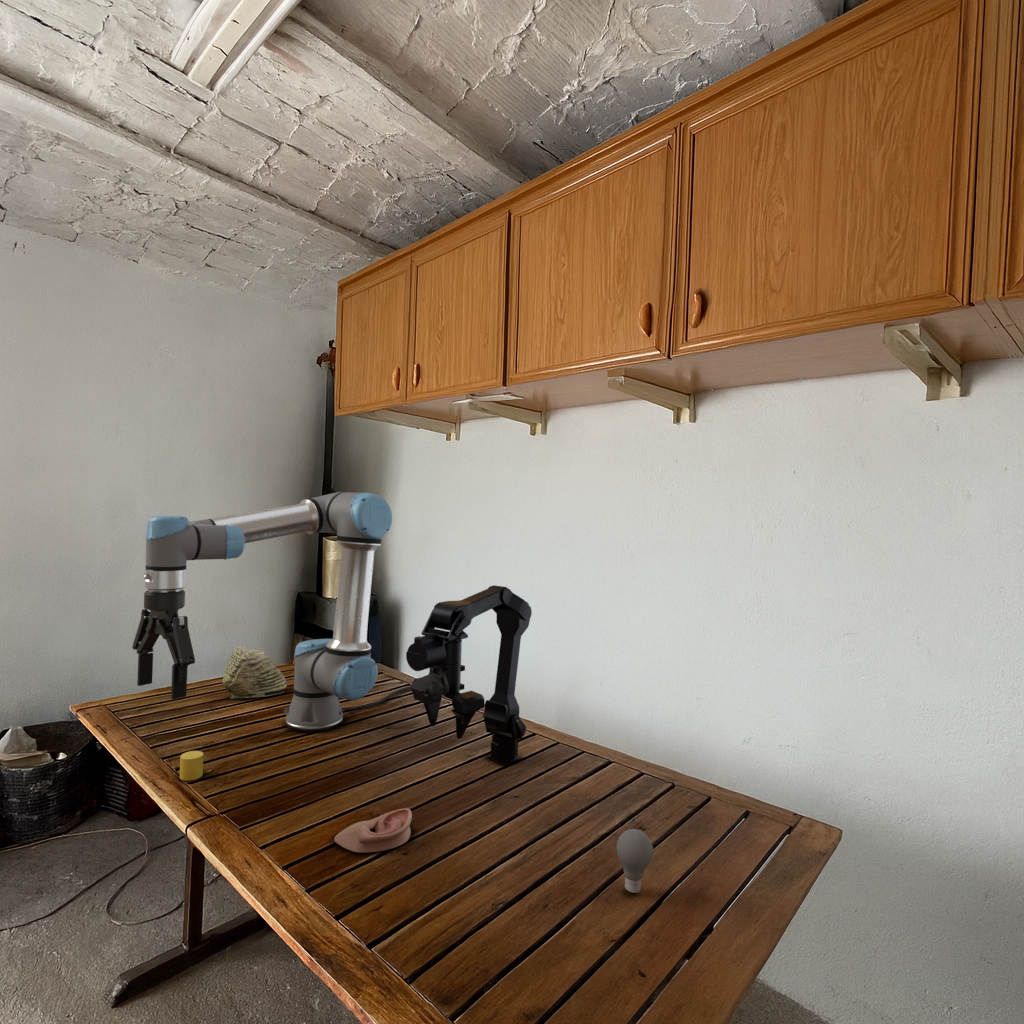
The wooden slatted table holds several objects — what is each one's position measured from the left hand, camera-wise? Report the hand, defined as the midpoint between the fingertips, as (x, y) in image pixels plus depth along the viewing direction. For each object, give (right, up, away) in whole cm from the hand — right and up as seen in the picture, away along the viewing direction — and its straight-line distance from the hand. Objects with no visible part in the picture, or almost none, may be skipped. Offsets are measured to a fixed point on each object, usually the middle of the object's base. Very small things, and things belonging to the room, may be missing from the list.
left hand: (161, 691), depth 132 cm
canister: (+2, -21, +8) cm, 23 cm away
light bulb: (+94, -26, -27) cm, 101 cm away
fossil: (-7, -20, +66) cm, 69 cm away
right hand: (+59, -11, +6) cm, 60 cm away
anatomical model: (+47, -24, -14) cm, 55 cm away
